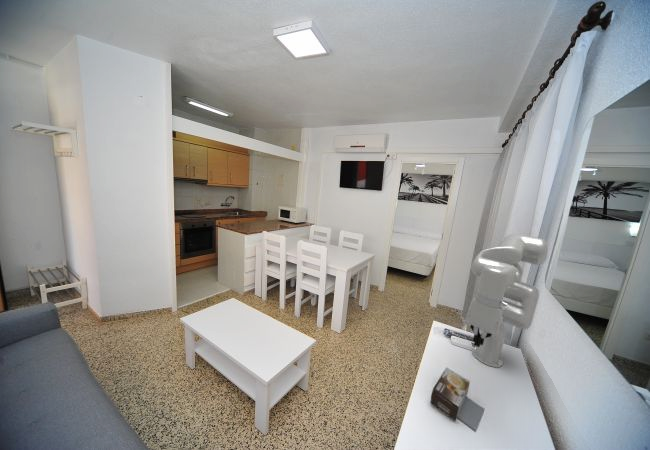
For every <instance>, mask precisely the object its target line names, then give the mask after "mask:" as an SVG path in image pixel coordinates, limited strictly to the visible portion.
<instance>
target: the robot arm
mask: <svg viewBox="0 0 650 450" xmlns="http://www.w3.org/2000/svg"><path fill="white" fill-rule="evenodd" d="M548 245H549V244H548V242H547V241H546V240H545V239H543V238H539V237H535V236H529V235H525V234H520V233H519V234H517V233H513V234H512V233H511V234H508V235H506V236H505V237H504V238H503V240H502V241H500V242H499V244H498V246H496V247H492V248H491V247H490V248H487V249H483V250H481V251H480V252H479V253H477V254H476V257H475V258H474V260H473V261H472V263H471V269H470V270H471V272H472V273H473V275H475V276H477V277H479V282H478V285H477V290H476V294H475V296H474V297H473V298H472V299H471V302H470V304H469V307H468V310H467V313H466V316H465V321H464V324H465V325H466V326H468V327H469V328H470V329H471V331H472V332H473V339H472V341H473V342H474V343H473V345H474V347H477V348H476V349H474V348H473V347H472V350H471V354H472V355H473V357H474V358H475V359H476V360H478V361H479V362H481V363H482V364H484V365H485V366H489V367H492V368H501V367H502V366H503V359H502V358H501V354H502V351H503V346H504V345H505V344H504V343H505V340H506V336H507V326H506V324H508V325H510V326H513V327H515V328H517V329H521V330H528V329H530V327H531V326H532V324H533V319H534V317H535V313H536V310H537V305H538V303H539V302H538V301H539V298H540V291H539V289H538V288H537V287H536V286H535V285H534V284H530V283H526V282H522V281H521V279H522V276H523V272H524V271H523V268H522V266H521V265H520V262H524V263H526V264H531V265H536V266H541V265H543V264H545V262H546V260H547V258H548V254H549V253H548V252H549V246H548ZM504 298H505V299H509V300H511V301H514V302H517V303H519V304H521V305H518V304H516V303H513V302H510V301H508V300H505V299H504ZM505 323H506V324H505Z"/></svg>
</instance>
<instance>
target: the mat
mask: <svg viewBox="0 0 650 450" xmlns="http://www.w3.org/2000/svg"><path fill="white" fill-rule="evenodd" d="M484 412H485V407H483V406H482V405H480V404H478V403H477V402H475V401H474V400H473V399H470V398H469V397H467V396H466V398H465V400H464V403H463V405H462V407H461V409H460V412H459V414H458V416H457V419H456V420H459V421H460V422H462V424H464V425H465V426H467V427H468V428H470V430H472V431H473V432H475V433H476V432H477V428H478V426H479V424H480V422H481V419H482V417H483V415H484Z"/></svg>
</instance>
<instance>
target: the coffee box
mask: <svg viewBox="0 0 650 450" xmlns="http://www.w3.org/2000/svg"><path fill="white" fill-rule="evenodd" d="M470 385H471V381H470V380H469V379H467V378H465V377H464V376H462V375H460V374H459V373H457V372H455V371H454V370H452V369H450V368H449V367H445V369H444V370H443V372H442V373H441V375H440V377H439V378H438V380H437V382H436V383H435V385H434V386H433V388H432V391H431V397H430V404H431V405H433V406H434V407H435V408H437V409H438V410H439V411H441V412H442V413H443V414H444V415H446V416H447V417H449V418H450V419H452V420H453V421H454V422H456V421H457V420H458V419H457V416H458V414H459V412H460V409H461V407H462V405H463V403H464V400H465V398H466V397H467V396H468V393H469V389H470Z"/></svg>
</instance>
